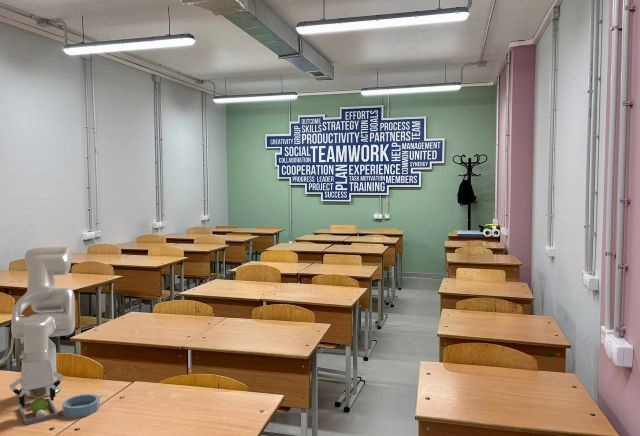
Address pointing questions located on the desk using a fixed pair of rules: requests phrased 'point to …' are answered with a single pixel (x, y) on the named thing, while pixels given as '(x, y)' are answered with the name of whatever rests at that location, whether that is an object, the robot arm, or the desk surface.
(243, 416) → the desk surface
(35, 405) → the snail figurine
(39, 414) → the pebble
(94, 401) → the bowl
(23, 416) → the tray
